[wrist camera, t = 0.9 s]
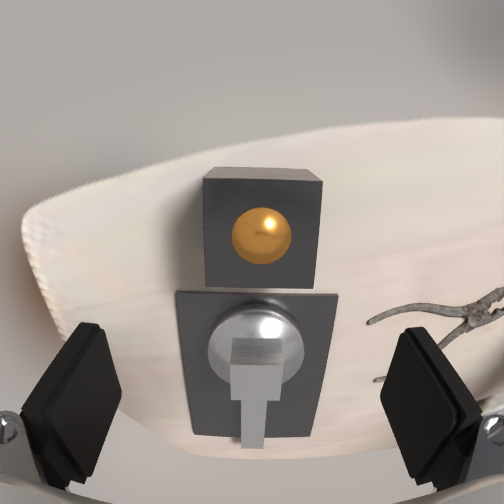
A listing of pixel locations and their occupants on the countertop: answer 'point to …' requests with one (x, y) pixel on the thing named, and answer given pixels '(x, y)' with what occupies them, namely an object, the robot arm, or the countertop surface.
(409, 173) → the countertop surface
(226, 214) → the socket
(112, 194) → the countertop surface
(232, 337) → the lever switch plate
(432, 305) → the pliers
